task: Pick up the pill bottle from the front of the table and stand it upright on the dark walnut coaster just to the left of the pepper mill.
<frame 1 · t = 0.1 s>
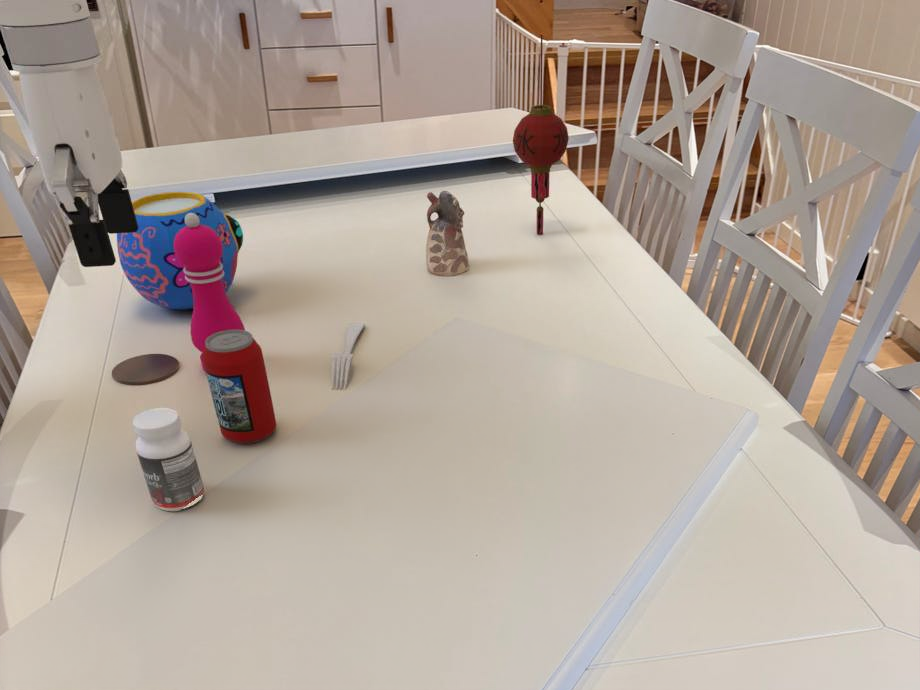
hand: (111, 248, 91), 24 cm above the table, tool pointing down, fingers open, 9 cm apart
coaster: (146, 370, 126), on the table
lantern: (539, 234, 164), on the table
fork: (348, 356, 128), on the table
beverage can: (250, 435, 112), on the table
pill bottle: (179, 500, 101), on the table
figurine: (448, 269, 152), on the table
ceramic pot: (191, 304, 144), on the table
pepper mill: (225, 366, 127), on the table
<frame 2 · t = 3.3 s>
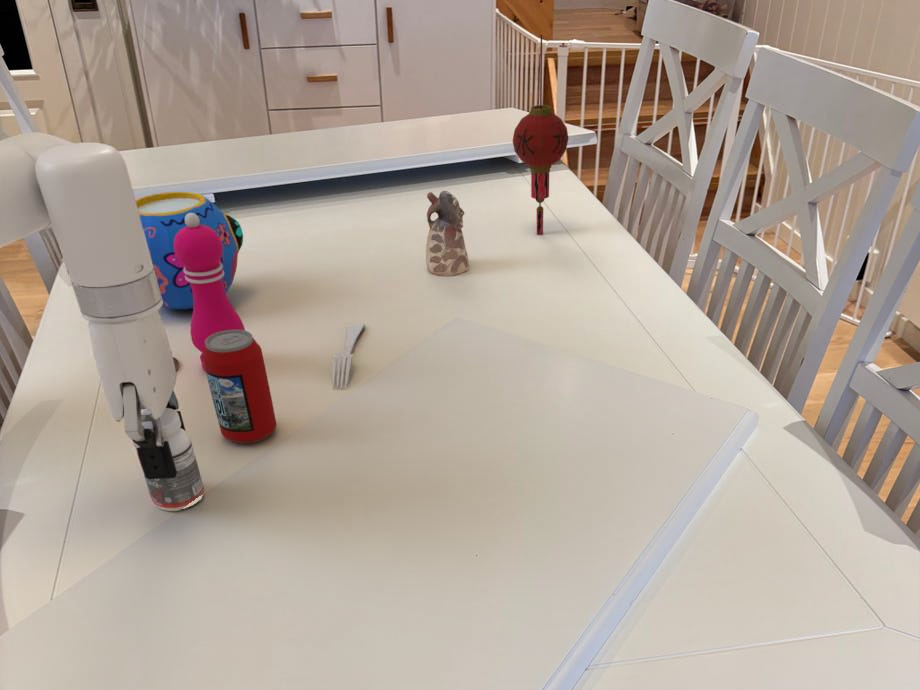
hand: (167, 459, 98), 5 cm above the table, tool pointing down, fingers closed on pill bottle, 5 cm apart
pill bottle: (179, 500, 101), on the table, touching gripper
everything else where it was.
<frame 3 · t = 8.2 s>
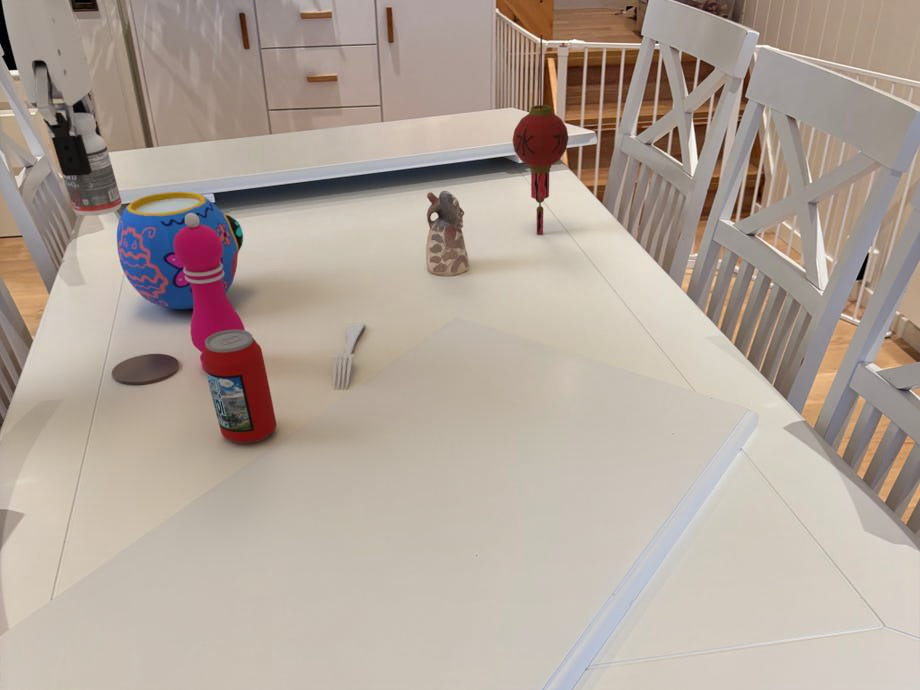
hand: (85, 165, 107), 27 cm above the table, tool pointing down, fingers closed on pill bottle, 5 cm apart
pill bottle: (99, 211, 110), point 21 cm above the table, touching gripper
everything else where it was.
when the fingers open (5 cm above the table, at t = 13.4 s): pill bottle stays where it is, resting on coaster.
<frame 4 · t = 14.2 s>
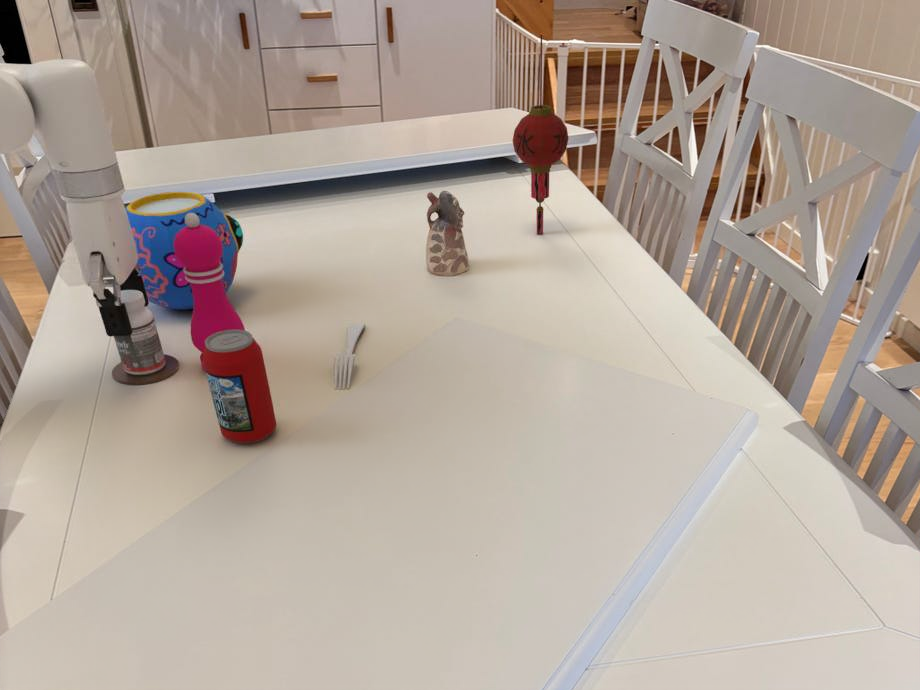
hand: (129, 320, 121), 7 cm above the table, tool pointing down, fingers open, 9 cm apart
pill bottle: (145, 368, 126), resting on coaster
everything else where it was.
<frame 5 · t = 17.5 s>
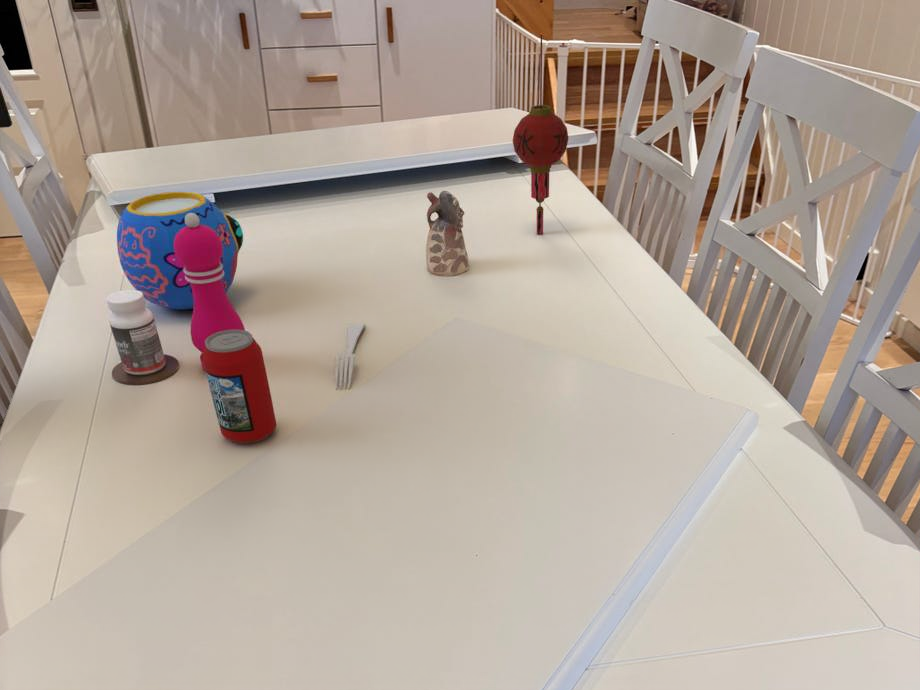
nothing on the table moved.
at the end: pill bottle 0.0 cm from the target spot on the table beside the pepper mill, resting on coaster; pill bottle tilted 0°; pepper mill moved 0.2 cm from its start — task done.
